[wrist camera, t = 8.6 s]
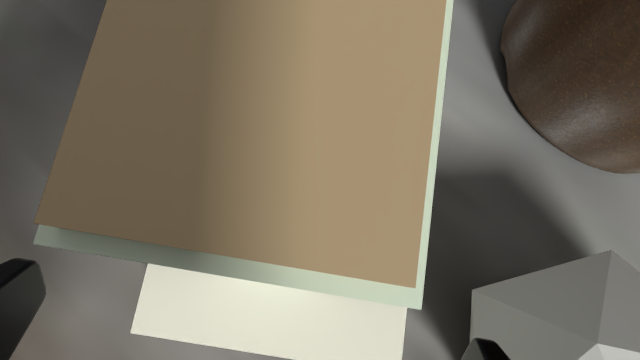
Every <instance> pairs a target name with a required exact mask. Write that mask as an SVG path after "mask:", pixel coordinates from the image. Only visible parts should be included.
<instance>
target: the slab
mask: <svg viewBox="0 0 640 360" xmlns="http://www.w3.org/2000/svg"><path fill="white" fill-rule="evenodd" d="M406 314H407V307H402V306H396V305H390V304H384V303H378V302H372V301H366V300H360V299H354V298H349V297H343V296H337V295H331V294H325V293H319V292H313V291H307V290H301V289H296V288H290V287H284V286H278V285H272V284H266V283H260V282H254V281H248V280H242V279H237V278H231V277H225V276H219V275H213V274H207V273H201V272H195V271H189V270H184V269H178V268H172V267H166V266H160V265H154V264H148V265H147V269H146V273H145V277H144V281H143V285H142V289H141V293H140V297H139V301H138V305H137V309H136V313H135V317H134V321H133V325H132V329H131V333H134V334H140V335H146V336H152V337H158V338H165V339H171V340H177V341H183V342H189V343H195V344H202V345H208V346H214V347H220V348H226V349H232V350H239V351H245V352H251V353H257V354H263V355H270V356H276V357H282V358H288V359H294V360H402V351H403V342H404V332H405V323H406Z"/></svg>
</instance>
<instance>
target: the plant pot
mask: <svg viewBox="0 0 640 360" xmlns="http://www.w3.org/2000/svg"><path fill="white" fill-rule="evenodd" d="M500 51H501V53H502V54H503V55H504V57H505V62H506V68H507V78H508V82H507V86H508V90H509V92H510V94H511V96H512V98H513V100H514V102H515V104H516V106H517V107H518V109H519V110H520V112H521V113H522V115H523V116H524V117H525V118H526V120H527V121H528V122H529V123H530V124H531V125H532V127H533V128H534V129H535V130H536V131H537V132H538V133H539V134H540V135H541V136H542V137H544V138H545V139H546V140H547V141H548V142H550V143H551V144H552V145H554V146H555V147H556V148H558V149H559V150H561V151H562V152H564V153H566V154H567V155H569V156H570V157H572V158H574V159H576V160H578V161H580V162H582V163H584V164H587V165H589V166H592V167H595V168H598V169H601V170H605V171H609V172H613V173H621V174H628V173H640V0H516V1H515V2H514V4H513V5H512V7H511V9H510V11H509V13H508V15H507V18H506V20H505V23H504V26H503V31H502V35H501V44H500Z"/></svg>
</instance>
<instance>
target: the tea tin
mask: <svg viewBox="0 0 640 360" xmlns="http://www.w3.org/2000/svg"><path fill="white" fill-rule="evenodd" d="M452 9H453V0H107V1H106V4H105V7H104V10H103V13H102V17H101V20H100V23H99V26H98V29H97V32H96V35H95V38H94V41H93V44H92V47H91V50H90V53H89V56H88V59H87V62H86V65H85V68H84V71H83V74H82V77H81V80H80V83H79V86H78V89H77V92H76V95H75V99H74V102H73V105H72V108H71V111H70V114H69V117H68V120H67V123H66V126H65V129H64V132H63V135H62V138H61V141H60V144H59V147H58V150H57V153H56V156H55V159H54V162H53V165H52V168H51V171H50V174H49V178H48V181H47V184H46V187H45V190H44V193H43V196H42V199H41V202H40V205H39V208H38V211H37V214H36V217H35V220H34V223H35V224H39V227H38V230H37V233H36V236H35V239H34V242H33V244H36V245H42V246H48V247H54V248H60V249H66V250H72V251H78V252H83V253H89V254H95V255H101V256H107V257H113V258H119V259H125V260H131V261H136V262H142V263H148V264H154V265H160V266H166V267H172V268H178V269H184V270H189V271H195V272H201V273H207V274H213V275H219V276H225V277H231V278H237V279H242V280H248V281H254V282H260V283H266V284H272V285H278V286H284V287H290V288H296V289H301V290H307V291H313V292H319V293H325V294H331V295H337V296H343V297H349V298H354V299H360V300H366V301H372V302H378V303H384V304H390V305H396V306H402V307H407V308H413V309H419V310H421V309H422V300H423V290H424V280H425V271H426V261H427V251H428V242H429V232H430V222H431V213H432V203H433V193H434V183H435V174H436V164H437V154H438V145H439V135H440V125H441V116H442V106H443V96H444V87H445V77H446V67H447V58H448V48H449V38H450V29H451V19H452Z"/></svg>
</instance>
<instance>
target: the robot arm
mask: <svg viewBox="0 0 640 360" xmlns="http://www.w3.org/2000/svg"><path fill="white" fill-rule="evenodd" d="M45 295H46V286H45V283H44V279H43V276H42V272H41V269H40V266H39V264H38V263H37V262H36V261H33V260H27V259H21V258H14V259H11V260H8V261H6V262H4V263H2V264H0V360H9V359H10V357H11V355H12V354H13V352H14V350H15V348H16V347H17V345H18V343H19V342H20V340H21V338H22V337H23V335H24V333H25V331H26V330H27V328H28V326H29V325H30V323H31V321H32V320H33V318H34V316H35V314H36V313H37V311H38V309H39V308H40V306H41V304H42V302H43V300H44V298H45ZM461 360H511V359H510V358H509V357H508V356H507V354H506V353H505V352H504V351H503V350H502V348H501V347H500V346H499V345H498V344H497V343H496V342H495V341H493V340H489V339H483V338H474V339H472V341H471V342H470V344H469V346H468V347H467V349H466V351H465V353H464V355H463V357H462V358H461Z"/></svg>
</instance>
